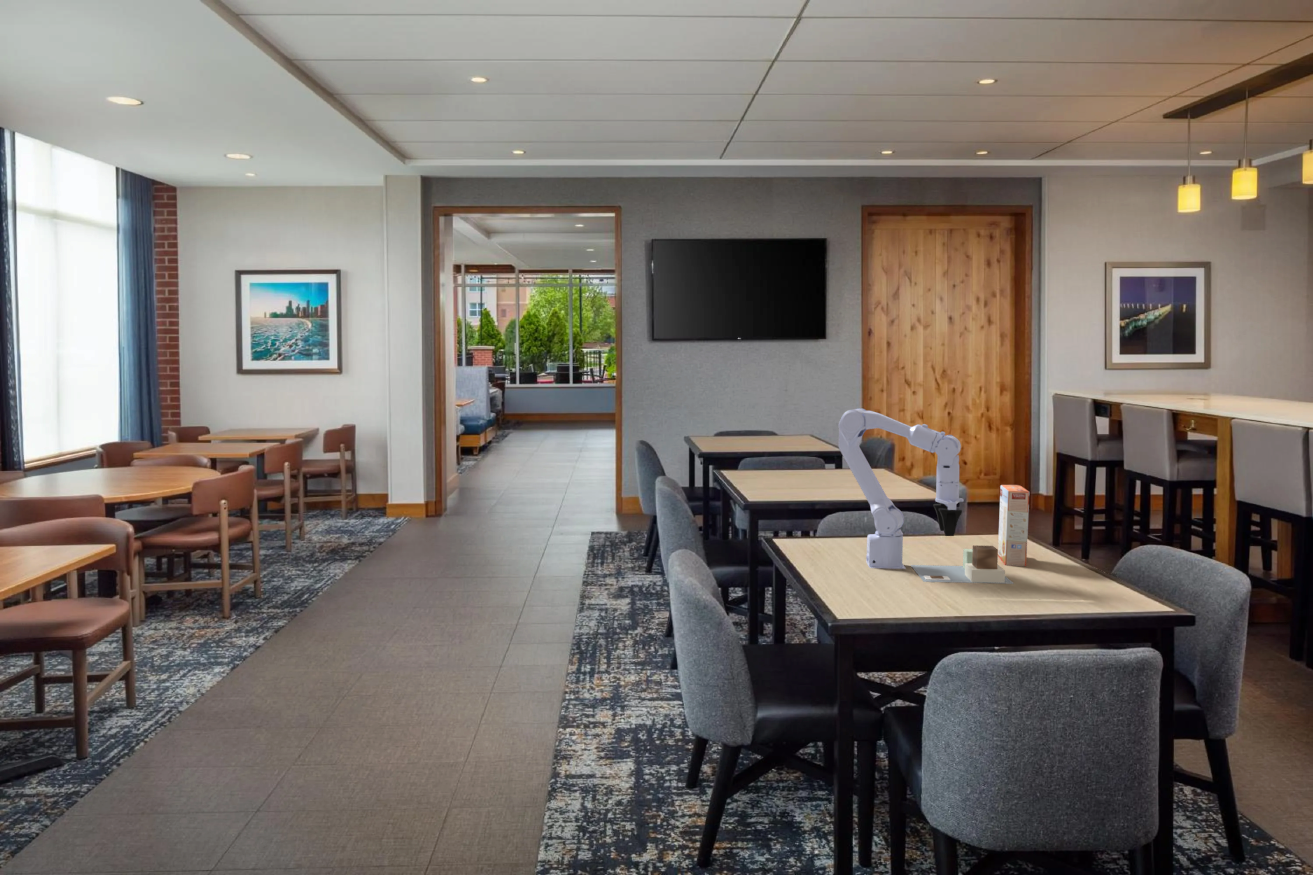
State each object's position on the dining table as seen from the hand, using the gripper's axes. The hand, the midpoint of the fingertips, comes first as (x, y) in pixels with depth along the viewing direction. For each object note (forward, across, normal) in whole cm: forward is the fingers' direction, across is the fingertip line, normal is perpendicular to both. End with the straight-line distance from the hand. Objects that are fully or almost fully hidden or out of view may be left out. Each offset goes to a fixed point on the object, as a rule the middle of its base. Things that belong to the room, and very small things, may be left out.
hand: (946, 533), depth 258 cm
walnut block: (+7, -9, -8) cm, 14 cm away
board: (+10, -4, -3) cm, 11 cm away
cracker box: (+11, +15, -20) cm, 28 cm away
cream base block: (+10, -9, -8) cm, 15 cm away
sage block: (+10, +2, -8) cm, 13 cm away
